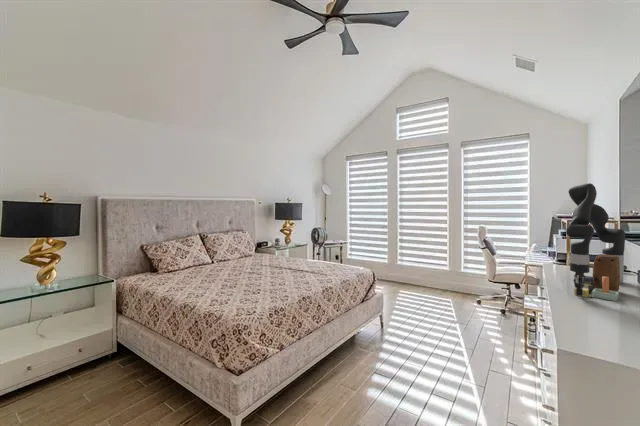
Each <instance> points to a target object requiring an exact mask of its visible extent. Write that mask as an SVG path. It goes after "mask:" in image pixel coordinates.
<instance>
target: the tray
mask: <svg viewBox="0 0 640 426" xmlns="http://www.w3.org/2000/svg"><path fill="white" fill-rule="evenodd" d="M591 297H592V298H595V299H602V300H608V301H612V302H618V300H619V298H620V291H618V292H617V291H611V290H609V294H608V293H602V289H598V288H595V289H594V290H593V291H592V293H591Z"/></svg>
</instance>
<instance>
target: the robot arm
mask: <svg viewBox="0 0 640 426" xmlns="http://www.w3.org/2000/svg"><path fill="white" fill-rule="evenodd" d="M568 194H569V197H570V199H571V201H572V202H573V203H574V204H575V205H576V207H575V209H574V210H573V211H572V212H573V213H572V218H571V221H570V223H569V224H568V225H567V227H566V230H565V233H566V235H567V236H568V237H569V238H574V239H575V238H576V239H583V240H582V241H575V242H571V244H570V256H569V270H570V271H571V272H573V273H575V274H574V275H573V284H574V285H573V286H574V289H575V288H576V295H575V296H579V297H583V296H582V295H583V289H584V288H583V287H584V283H585V276H586V275H585V274H589V273H590V265H591V264H590V260H591V259H590V243H591V241H592V238H593V236H594V233H596V234H597V238H598V239H599V240H600V242H602V243H605V244H613V246H611V247H607V248H603V249H602V250H601V251H602V254H603V255H611V256H618V257H619V261H620V283H619V284H624V268H625V266H624V264H625V263H624V262H625V261H624V259H625V258H624V257H625V255H624V253H625V246H626V245H625V244H626V233H625V230H624V229H621V228H611V227H610V228H609V227H608V228H607V227H606V225H607V223H608V221H609V219H610V217H609V215H608V213H607V211H606V210H605V208H603V206H601V205H599V204H596V203H595V202H596V199H597V194H598V193H597V188H596V186H595V185H594V184H593V183H584V184H579V185H575V186H572V187H571V186H570V187H569V189H568ZM582 288H583V289H582Z"/></svg>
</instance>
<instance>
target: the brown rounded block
mask: <svg viewBox="0 0 640 426" xmlns="http://www.w3.org/2000/svg"><path fill="white" fill-rule="evenodd" d="M592 277H593V283H594V289H595V288H598V289H602V277H609V290H611V291H617V292H620V291H619V290H620V284H621V283H620V261H619V257H618V256H611V255H603V254H597V255H596V256H595V259H594V261H593V266H592Z"/></svg>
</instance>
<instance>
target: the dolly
mask: <svg viewBox="0 0 640 426" xmlns="http://www.w3.org/2000/svg"><path fill="white" fill-rule="evenodd" d="M583 289H588V290H589V294H592V291H593V290H594V283H593V276H589V275H585V283H584V287H583Z"/></svg>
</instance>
